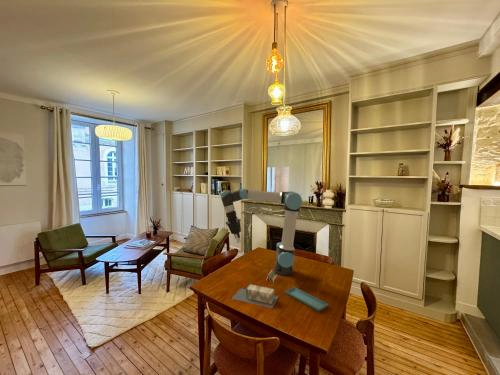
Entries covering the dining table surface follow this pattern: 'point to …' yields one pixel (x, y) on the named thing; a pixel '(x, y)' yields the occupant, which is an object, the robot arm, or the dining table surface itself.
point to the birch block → (260, 293)
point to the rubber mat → (242, 297)
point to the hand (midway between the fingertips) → (239, 242)
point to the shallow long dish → (307, 299)
